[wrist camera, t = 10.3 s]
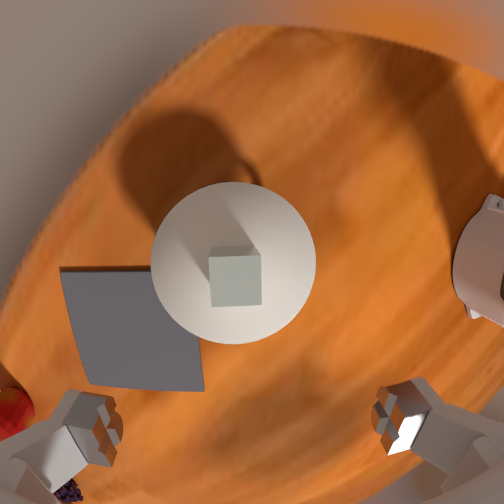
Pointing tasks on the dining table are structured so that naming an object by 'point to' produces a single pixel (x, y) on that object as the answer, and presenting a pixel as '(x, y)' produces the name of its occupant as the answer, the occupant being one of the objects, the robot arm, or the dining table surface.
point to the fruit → (68, 493)
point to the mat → (129, 333)
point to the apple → (14, 412)
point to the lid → (233, 262)
